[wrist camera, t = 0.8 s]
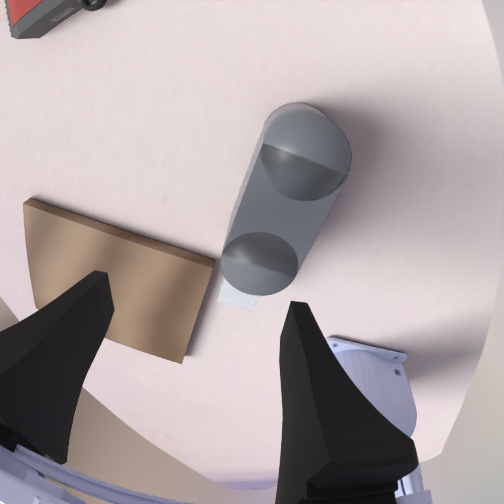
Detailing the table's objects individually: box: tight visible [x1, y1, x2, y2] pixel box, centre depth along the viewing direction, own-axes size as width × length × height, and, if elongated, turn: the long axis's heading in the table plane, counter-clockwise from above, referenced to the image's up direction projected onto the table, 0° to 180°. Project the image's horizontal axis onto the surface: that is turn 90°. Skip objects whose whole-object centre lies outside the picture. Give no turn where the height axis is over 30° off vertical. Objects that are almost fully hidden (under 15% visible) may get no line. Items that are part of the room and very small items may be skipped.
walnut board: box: [23, 198, 215, 364], centre depth 24 cm, size 16×12×1 cm
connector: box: [217, 103, 352, 311], centre depth 17 cm, size 4×13×5 cm, turn 161°
